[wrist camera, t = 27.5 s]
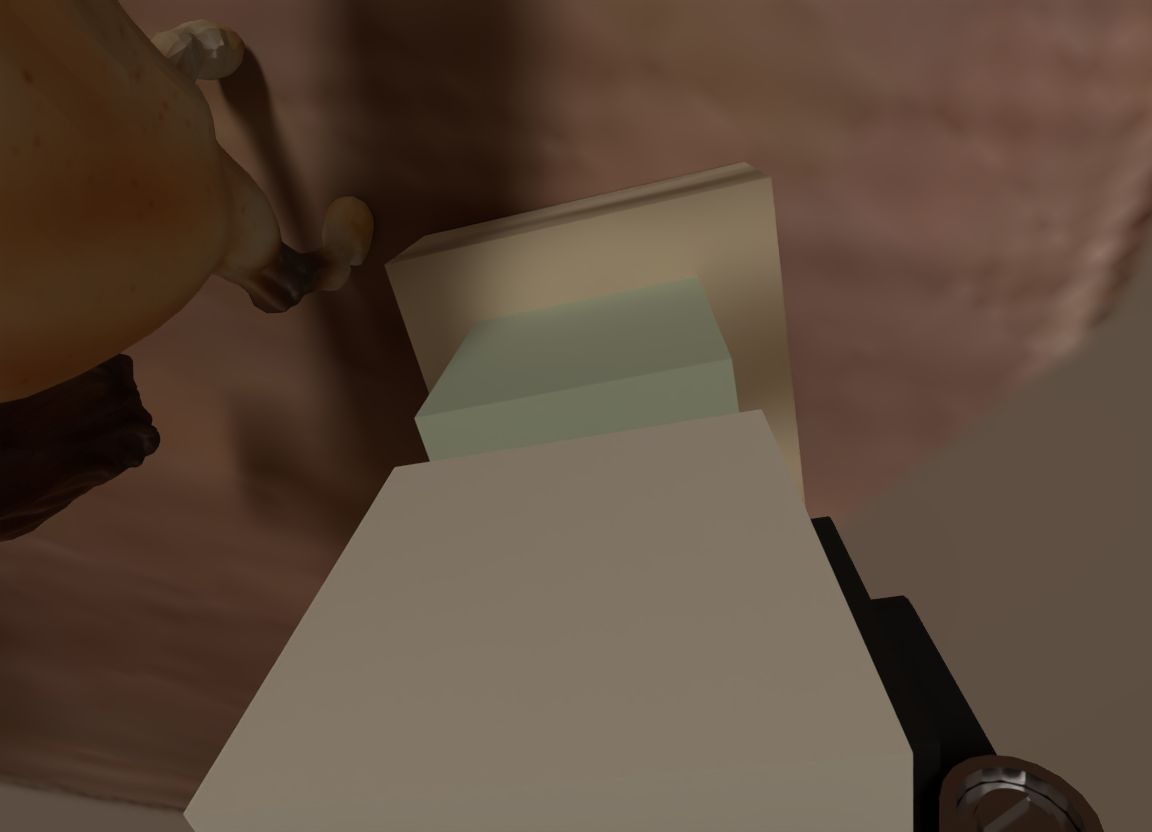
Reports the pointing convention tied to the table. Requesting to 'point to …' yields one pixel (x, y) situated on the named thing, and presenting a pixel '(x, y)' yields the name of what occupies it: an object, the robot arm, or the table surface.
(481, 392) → the green block
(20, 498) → the horse figurine
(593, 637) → the cream block
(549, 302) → the base brick
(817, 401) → the table surface
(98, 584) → the table surface
